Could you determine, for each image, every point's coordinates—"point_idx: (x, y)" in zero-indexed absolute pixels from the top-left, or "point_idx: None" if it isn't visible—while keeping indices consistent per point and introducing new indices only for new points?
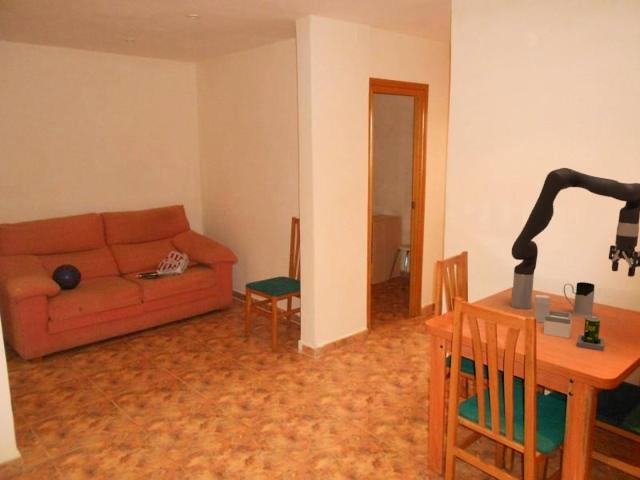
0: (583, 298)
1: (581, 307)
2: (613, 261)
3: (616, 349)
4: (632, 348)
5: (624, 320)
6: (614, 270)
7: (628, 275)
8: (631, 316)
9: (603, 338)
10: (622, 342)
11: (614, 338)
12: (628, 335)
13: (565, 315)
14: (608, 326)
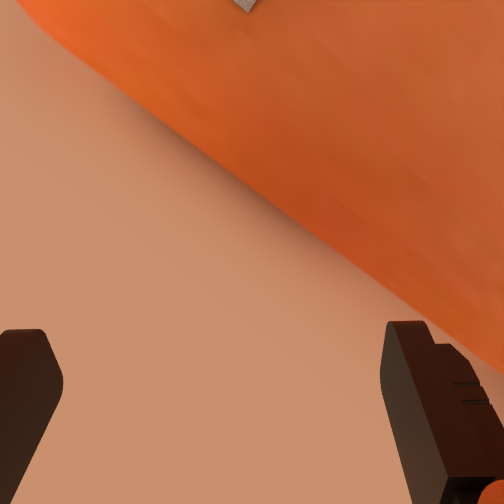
0: None
1: None
2: (479, 502)
3: (159, 21)
4: (168, 116)
5: (472, 308)
6: (390, 345)
7: (18, 333)
8: (495, 357)
9: (248, 9)
10: (244, 122)
11: (298, 120)
12: (317, 209)
13: None
14: (441, 200)
